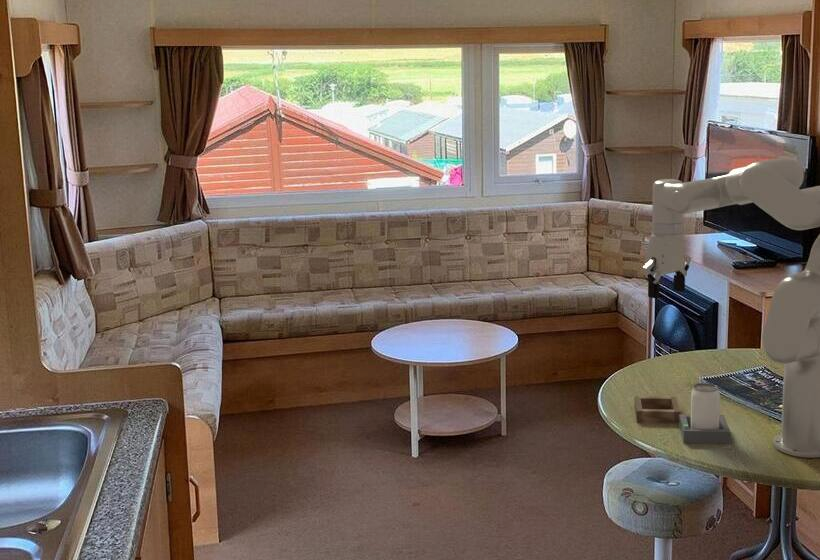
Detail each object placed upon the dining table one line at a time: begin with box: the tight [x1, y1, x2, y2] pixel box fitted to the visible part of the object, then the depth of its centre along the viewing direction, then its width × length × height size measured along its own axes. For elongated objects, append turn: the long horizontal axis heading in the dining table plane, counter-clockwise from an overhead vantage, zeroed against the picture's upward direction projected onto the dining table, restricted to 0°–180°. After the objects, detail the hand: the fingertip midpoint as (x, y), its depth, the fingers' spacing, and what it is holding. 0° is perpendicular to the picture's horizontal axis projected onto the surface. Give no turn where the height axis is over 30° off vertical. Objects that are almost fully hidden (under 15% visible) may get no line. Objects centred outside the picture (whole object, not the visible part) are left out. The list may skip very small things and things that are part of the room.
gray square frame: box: [678, 413, 731, 445], centre depth 225 cm, size 10×10×4 cm
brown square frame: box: [633, 395, 681, 424], centre depth 238 cm, size 10×10×3 cm
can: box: [690, 382, 721, 429], centre depth 224 cm, size 6×6×12 cm
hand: (666, 294), depth 243 cm, fingers open, 9 cm apart
